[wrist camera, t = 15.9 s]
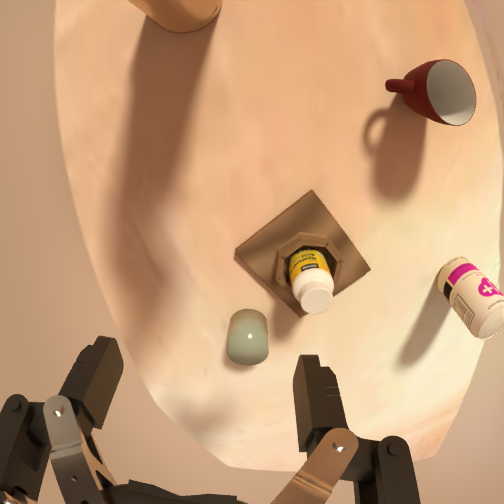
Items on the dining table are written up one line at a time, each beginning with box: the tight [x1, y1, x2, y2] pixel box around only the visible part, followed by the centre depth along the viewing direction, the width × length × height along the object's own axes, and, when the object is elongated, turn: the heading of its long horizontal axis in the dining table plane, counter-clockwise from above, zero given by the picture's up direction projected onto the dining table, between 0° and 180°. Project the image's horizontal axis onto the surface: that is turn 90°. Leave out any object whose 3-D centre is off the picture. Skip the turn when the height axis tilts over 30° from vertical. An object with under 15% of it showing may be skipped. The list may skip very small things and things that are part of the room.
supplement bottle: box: [288, 246, 334, 314], centre depth 38 cm, size 5×5×10 cm
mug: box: [385, 59, 476, 126], centre depth 27 cm, size 10×8×10 cm
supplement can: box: [437, 256, 504, 340], centre depth 38 cm, size 8×8×15 cm
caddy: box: [235, 190, 371, 318], centre depth 42 cm, size 16×14×4 cm
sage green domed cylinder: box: [227, 309, 269, 366], centre depth 46 cm, size 6×6×7 cm
